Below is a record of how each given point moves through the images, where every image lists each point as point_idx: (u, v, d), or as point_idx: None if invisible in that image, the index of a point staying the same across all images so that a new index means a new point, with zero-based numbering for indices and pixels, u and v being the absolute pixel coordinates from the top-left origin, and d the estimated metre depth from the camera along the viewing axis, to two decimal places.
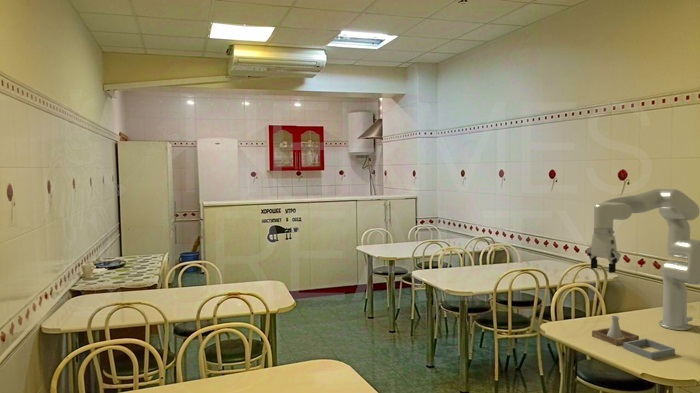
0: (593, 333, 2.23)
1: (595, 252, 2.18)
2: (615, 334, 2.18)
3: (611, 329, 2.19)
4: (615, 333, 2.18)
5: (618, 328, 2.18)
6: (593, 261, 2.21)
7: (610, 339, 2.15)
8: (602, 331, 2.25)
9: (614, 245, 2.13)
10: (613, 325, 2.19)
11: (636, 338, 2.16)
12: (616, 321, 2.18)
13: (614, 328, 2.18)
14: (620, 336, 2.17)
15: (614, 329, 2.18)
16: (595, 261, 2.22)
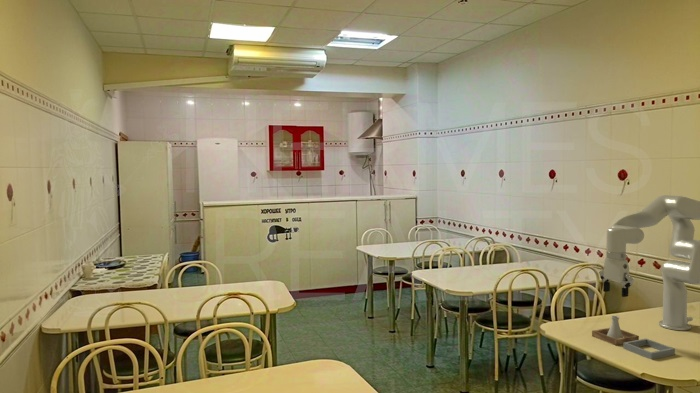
0: (593, 333, 2.23)
1: (608, 276, 2.20)
2: (615, 334, 2.18)
3: (611, 329, 2.19)
4: (615, 333, 2.18)
5: (618, 328, 2.18)
6: (605, 284, 2.23)
7: (610, 339, 2.15)
8: (602, 331, 2.25)
9: (627, 269, 2.14)
10: (613, 325, 2.19)
11: (636, 338, 2.16)
12: (616, 321, 2.18)
13: (614, 328, 2.18)
14: (620, 336, 2.17)
15: (614, 329, 2.18)
16: (607, 284, 2.23)
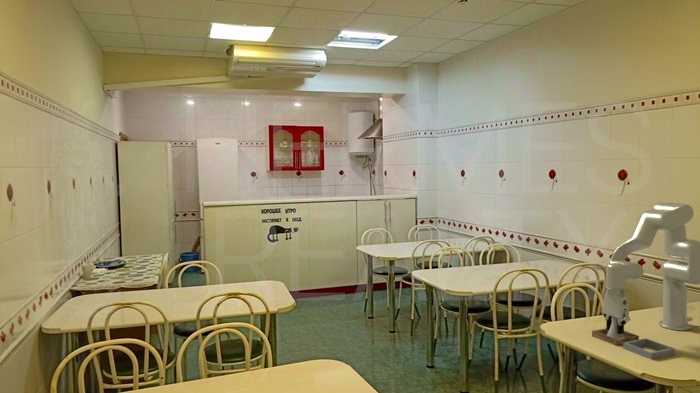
0: (593, 333, 2.23)
1: (607, 311, 2.21)
2: (615, 334, 2.18)
3: (611, 329, 2.19)
4: (615, 333, 2.18)
5: None
6: (609, 322, 2.22)
7: (610, 339, 2.15)
8: (602, 331, 2.25)
9: (626, 305, 2.15)
10: (613, 325, 2.19)
11: (636, 338, 2.16)
12: (616, 321, 2.18)
13: (614, 328, 2.18)
14: (620, 336, 2.17)
15: (614, 329, 2.18)
16: (611, 322, 2.22)
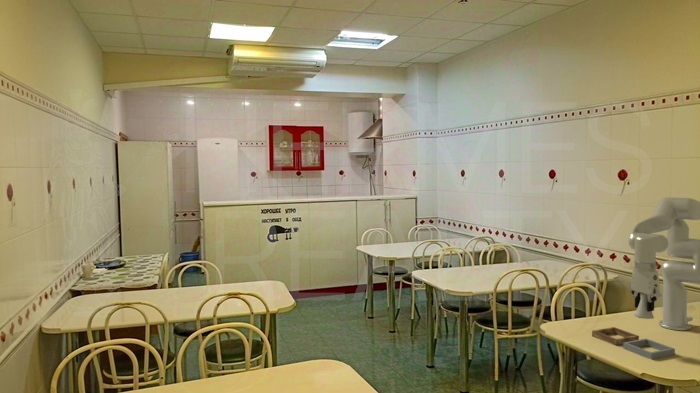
0: (593, 333, 2.23)
1: (636, 287, 2.06)
2: (644, 311, 2.04)
3: (640, 306, 2.05)
4: (645, 311, 2.04)
5: None
6: (637, 300, 2.08)
7: (610, 339, 2.15)
8: (602, 331, 2.25)
9: (657, 281, 2.01)
10: (642, 302, 2.05)
11: (636, 338, 2.16)
12: (645, 298, 2.04)
13: (643, 305, 2.04)
14: (650, 314, 2.03)
15: (643, 306, 2.04)
16: (639, 300, 2.08)
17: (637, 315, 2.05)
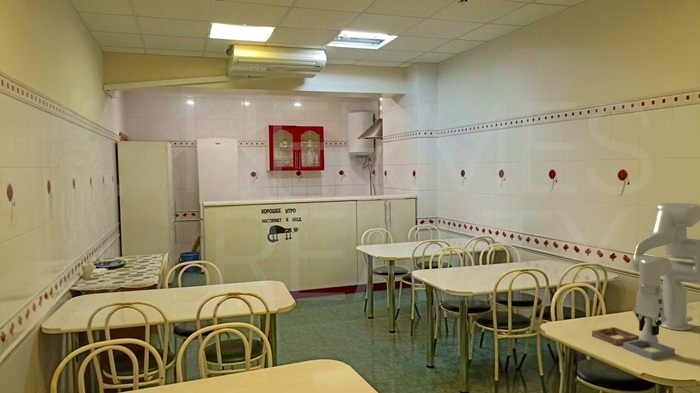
0: (593, 333, 2.23)
1: (640, 310, 2.05)
2: (649, 335, 2.02)
3: (645, 330, 2.03)
4: (649, 335, 2.02)
5: None
6: (642, 323, 2.06)
7: (610, 339, 2.15)
8: (602, 331, 2.25)
9: (662, 305, 1.99)
10: (647, 325, 2.03)
11: (636, 338, 2.16)
12: (650, 321, 2.03)
13: (648, 329, 2.02)
14: (655, 337, 2.01)
15: (648, 330, 2.02)
16: (644, 323, 2.06)
17: (642, 339, 2.03)
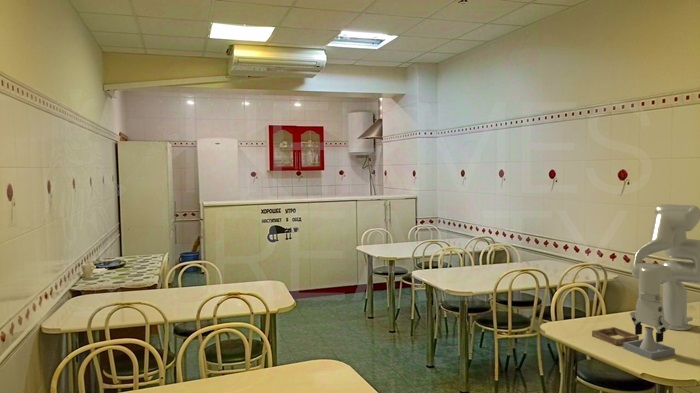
0: (593, 333, 2.23)
1: (640, 318, 2.05)
2: (649, 346, 2.02)
3: (645, 341, 2.04)
4: (650, 346, 2.02)
5: (652, 340, 2.03)
6: (638, 327, 2.08)
7: (610, 339, 2.15)
8: (602, 331, 2.25)
9: (662, 312, 1.99)
10: (647, 337, 2.03)
11: (636, 338, 2.16)
12: (650, 332, 2.03)
13: (648, 340, 2.03)
14: (655, 349, 2.02)
15: (648, 341, 2.03)
16: (640, 327, 2.08)
17: None
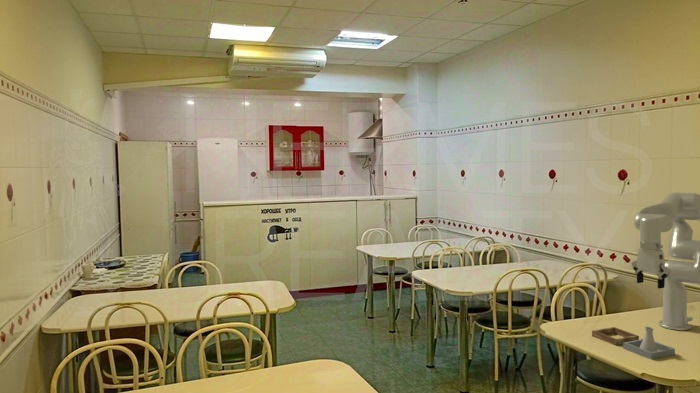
0: (593, 333, 2.23)
1: (642, 267, 2.12)
2: (649, 346, 2.02)
3: (645, 341, 2.04)
4: (650, 346, 2.02)
5: (652, 340, 2.03)
6: (639, 275, 2.15)
7: (610, 339, 2.15)
8: (602, 331, 2.25)
9: (663, 260, 2.06)
10: (647, 337, 2.03)
11: (636, 338, 2.16)
12: (650, 332, 2.03)
13: (648, 340, 2.03)
14: (655, 349, 2.02)
15: (648, 341, 2.03)
16: (641, 275, 2.15)
17: None
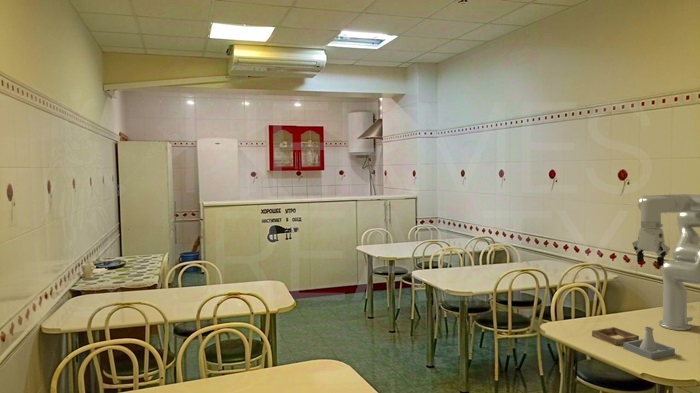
0: (593, 333, 2.23)
1: (642, 246, 2.20)
2: (649, 346, 2.02)
3: (645, 341, 2.04)
4: (650, 346, 2.02)
5: (652, 340, 2.03)
6: (639, 255, 2.23)
7: (610, 339, 2.15)
8: (602, 331, 2.25)
9: (662, 238, 2.14)
10: (647, 337, 2.03)
11: (636, 338, 2.16)
12: (650, 332, 2.03)
13: (648, 340, 2.03)
14: (655, 349, 2.02)
15: (648, 341, 2.03)
16: (641, 255, 2.23)
17: None
